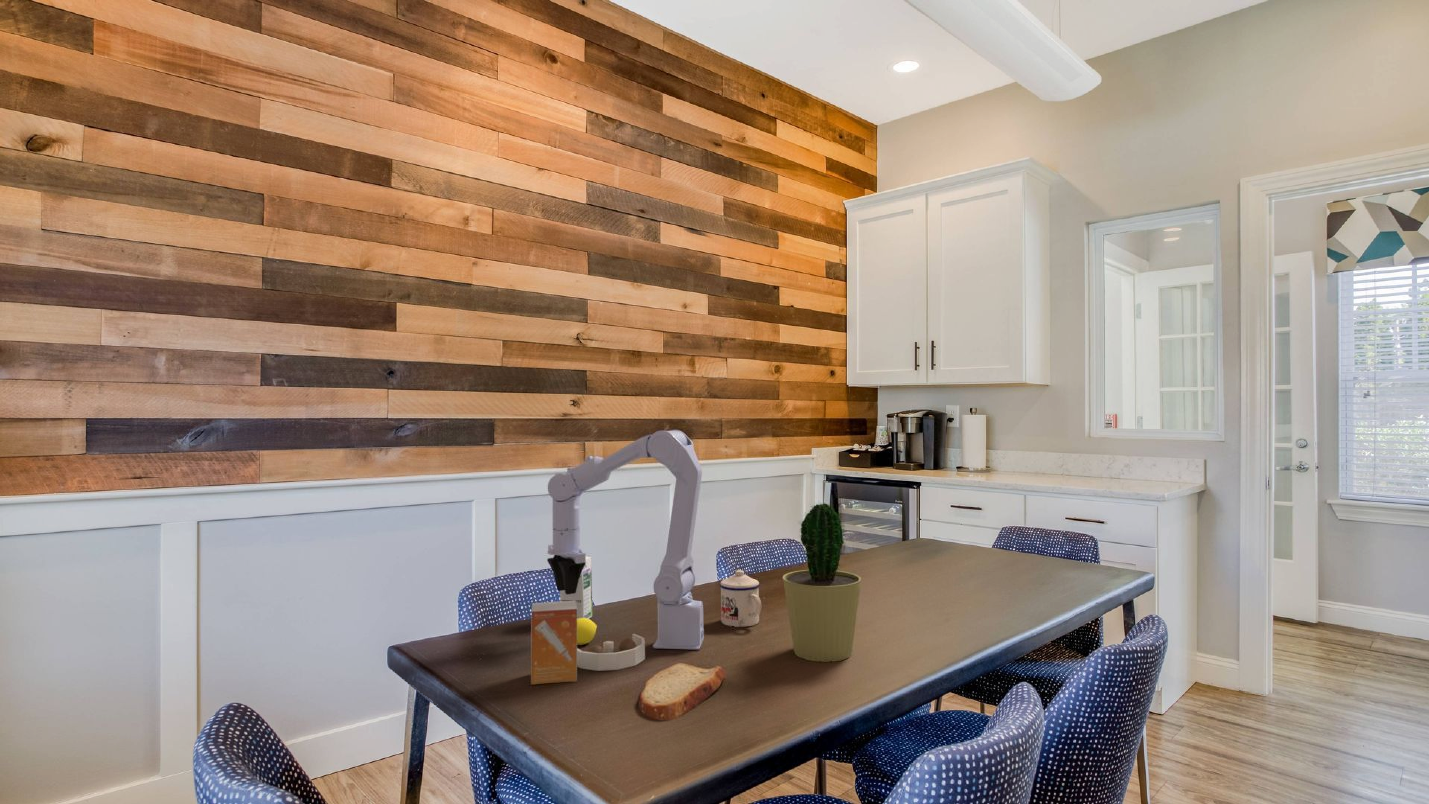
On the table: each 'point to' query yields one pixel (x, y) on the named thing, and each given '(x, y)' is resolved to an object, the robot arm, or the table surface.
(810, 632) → the potted cactus
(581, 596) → the syrup box
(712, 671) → the slice of bread
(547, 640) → the small box
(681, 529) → the robot arm
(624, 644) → the walnut bead
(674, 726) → the table surface
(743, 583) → the teacup with lid
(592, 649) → the walnut bead
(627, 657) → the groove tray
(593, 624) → the lemon
